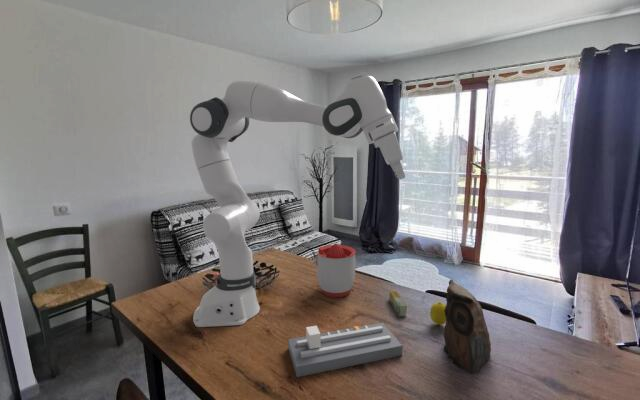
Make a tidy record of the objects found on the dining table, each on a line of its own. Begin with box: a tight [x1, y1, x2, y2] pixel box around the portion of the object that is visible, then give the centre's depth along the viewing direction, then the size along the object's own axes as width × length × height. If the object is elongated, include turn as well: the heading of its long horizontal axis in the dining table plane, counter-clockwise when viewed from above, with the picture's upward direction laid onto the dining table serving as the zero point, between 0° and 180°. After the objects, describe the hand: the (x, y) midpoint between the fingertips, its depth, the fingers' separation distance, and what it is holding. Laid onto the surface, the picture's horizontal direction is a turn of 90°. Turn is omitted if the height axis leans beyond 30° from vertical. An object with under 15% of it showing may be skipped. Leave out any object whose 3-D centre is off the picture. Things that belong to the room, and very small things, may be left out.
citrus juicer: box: [311, 243, 357, 298], centre depth 127 cm, size 16×17×20 cm
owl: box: [443, 279, 492, 375], centre depth 88 cm, size 13×13×20 cm
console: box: [287, 322, 403, 378], centre depth 91 cm, size 30×12×4 cm, turn 106°
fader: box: [305, 324, 321, 350], centre depth 88 cm, size 3×4×5 cm
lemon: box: [429, 301, 446, 326], centre depth 103 cm, size 6×6×8 cm
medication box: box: [388, 290, 408, 317], centre depth 115 cm, size 12×3×4 cm, turn 5°
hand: (401, 177), depth 89 cm, fingers open, 8 cm apart
